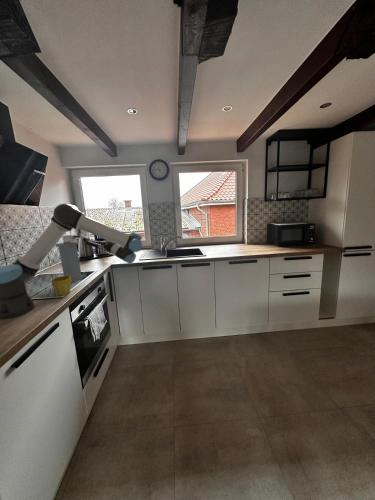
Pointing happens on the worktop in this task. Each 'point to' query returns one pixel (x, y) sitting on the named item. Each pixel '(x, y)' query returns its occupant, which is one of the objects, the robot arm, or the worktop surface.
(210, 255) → the worktop surface
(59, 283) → the plant pot
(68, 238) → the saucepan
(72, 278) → the stand
